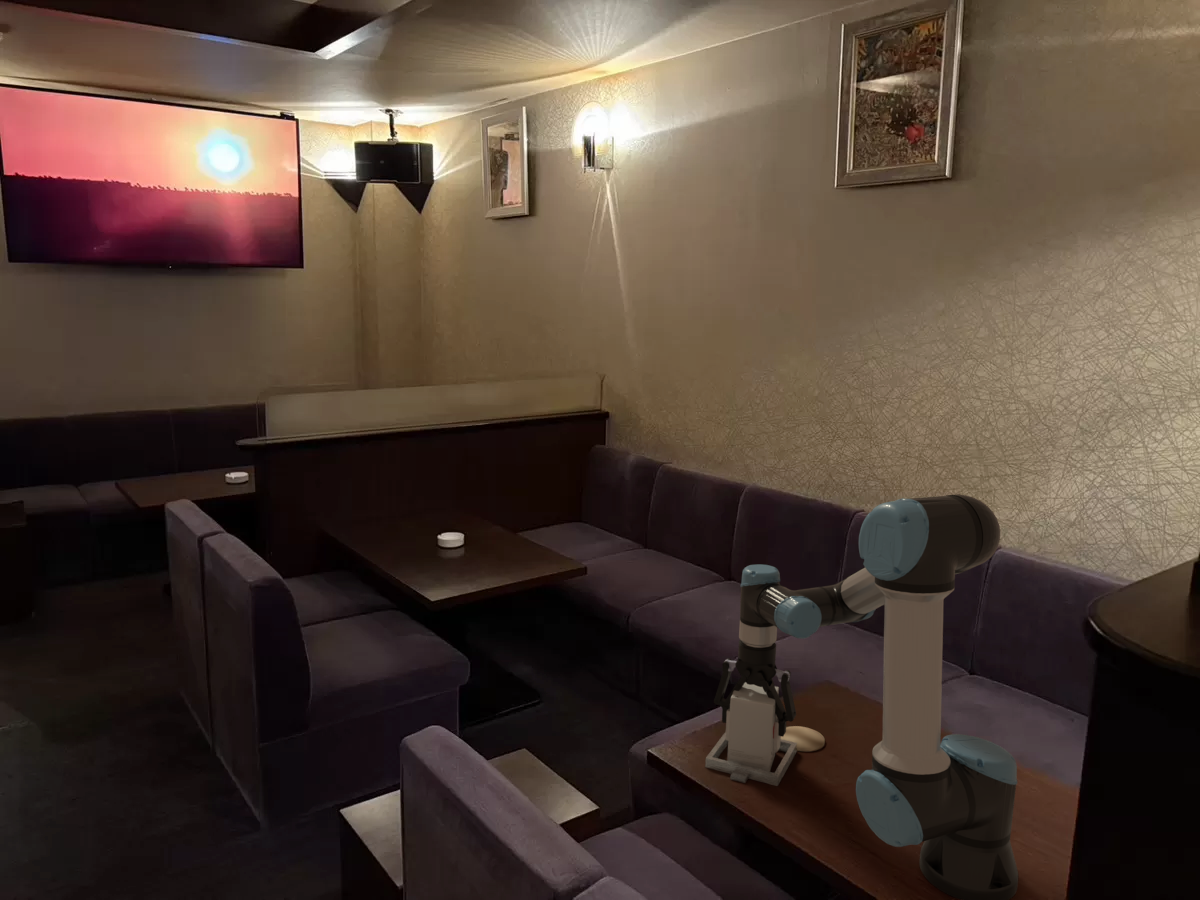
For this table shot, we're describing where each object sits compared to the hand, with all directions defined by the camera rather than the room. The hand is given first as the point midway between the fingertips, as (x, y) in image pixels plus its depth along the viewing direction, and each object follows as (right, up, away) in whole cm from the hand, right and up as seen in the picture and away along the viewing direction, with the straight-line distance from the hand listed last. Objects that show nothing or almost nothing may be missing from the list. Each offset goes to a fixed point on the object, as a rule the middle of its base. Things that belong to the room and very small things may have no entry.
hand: (752, 743), depth 182 cm
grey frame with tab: (0, -4, +1) cm, 4 cm away
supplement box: (0, -4, +1) cm, 4 cm away
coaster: (+12, -2, +9) cm, 15 cm away
